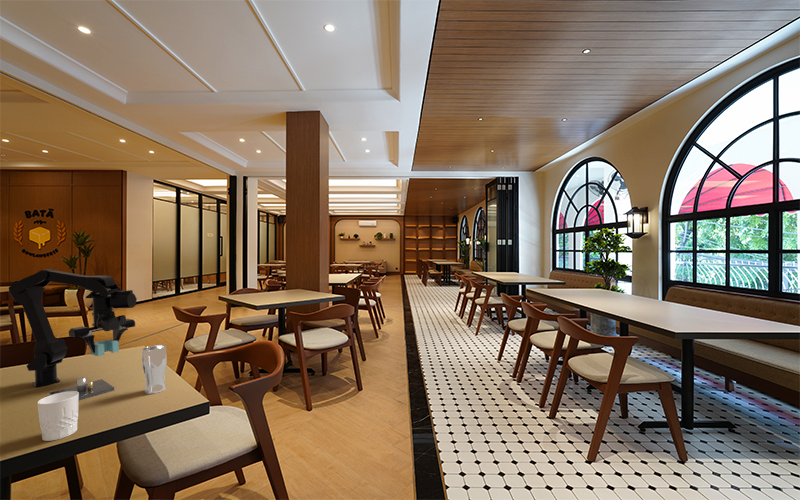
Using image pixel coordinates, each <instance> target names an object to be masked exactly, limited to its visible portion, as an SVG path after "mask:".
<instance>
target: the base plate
mask: <svg viewBox="0 0 800 500" xmlns="http://www.w3.org/2000/svg"><path fill="white" fill-rule="evenodd" d="M68 391H77V392H79V401H82V400H85V399H88V398H89V399H90V398H92V397H94V396H99V395H103V394H106V393H109V392H113V391H115V386H113V385H112V384H110V383H108V382H107V381H106V380H104V379H103V378H102V379H101V378H100V379H97V380H94V381H87V377H86V376H84V377H78V378H77V379H76V385H74V386H70V387H66V388H62V389H58V390H54V391H51V392H48V396H50V395H53V394H57V393H62V392H68Z"/></svg>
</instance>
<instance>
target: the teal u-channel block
mask: <svg viewBox="0 0 800 500" xmlns="http://www.w3.org/2000/svg"><path fill="white" fill-rule="evenodd" d="M94 345H95V353H92V351H91V349H90V348H89V349H90V352H89V353H90V355H92V356H96V357H100V356H105V354H106V353H105V352H110V353H112V354H113V353H119V351H120V349H119V348H120V347H119V346H120V345H119V342H118V341H116V340H113V338H112V339H110V338H109V339H105V340H102V341H101V340H100V341H96V342H95V341H94Z"/></svg>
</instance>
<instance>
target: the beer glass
mask: <svg viewBox="0 0 800 500" xmlns="http://www.w3.org/2000/svg"><path fill="white" fill-rule="evenodd" d="M166 348H167V347H166V344H156V345H149V346H145V347H143V348H142V350H141V351H142V352H141V353H142V354H141V363H142V364H141V365H142V370H143V374H144V379H145V388H144V394H146V395H153V394H154V395H155V394H159V393H161V392H163V391H165V390H166V389H167V384H166V381H165V375H166V369H167V359H168V355H167V349H166Z"/></svg>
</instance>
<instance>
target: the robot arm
mask: <svg viewBox="0 0 800 500" xmlns="http://www.w3.org/2000/svg"><path fill="white" fill-rule="evenodd" d="M51 282H53V283H60V284H63V285H64V284H65V285H71V286H76V287H77V286H78V287H81V288H83V289H85V290H87V291H89V292H90V293H89V294H87V295H86V296H85V299H92V312H91V315H92V317H93V318H92V319H93V322H92V323H91V325H92V326H91V327H88V326H87V327H86V326H77V327H71V328H70V329H69V330H68V337H70V338H81V339H83V340H84V342H86V344H87V346H88V348H89V349H91V351H92V353H95V345H94V343H95V334H93V333H95V332H100V331H104V332H110V331H112V340H116V341H118V342H119V341H120V339H121V337H122V335H123V334H124V332H126V331H128V330H129V328H135V327H136V321H135V319H132V318H126V317H127V316H126V315H125V314H121V315H118V316H116V313H115V311H114V310H113V309H116V310H118V309H133V308H134V307H135V306H136V304H137V296H136V295H135V293H134V291H133V290H132V289H128V290H122V288H121V287H120V286H119V285H118V284H117V283H116V282H115V279H114V277H112V276H111V275H85V274H78V273H73V272H67V271H62V270H61V271H60V270H56V269H53V268H51V269H50V268H49V269H42V270H41V269H40V270H39V271H37V272H35V273H34V274H31V275H29V276H26V277H24V278H22V279H21V280H15V281H13V282H12V283H11V284H10V286H8V292H9V293H10V296H11V297H12V298H13V301H16V302H17V303H19V305H21V307H22V308H23V311H24V314H25V316H26V318H27V322H28V324H29V327H30V329H31V332H32V335H33V337H34V339H35V342H36V343H35V346H34V349H33V354H34V358H33V359H32V360H31V361H30V362H29V363H28V364H26V368H27V370H28V371H29V372H32V371H34V380H35V381H34V382H32V385H33V386H34V387H35V388H38V387H45V386H47V385H52V384H56V383H59V382H61V380H60V379H59V378H58V369H57V364H61V363H62V362H63V361H64V358H65V356H66V355H67V353H68V350H67V349H68V346H67V345H66V340H65V339H64V338H61V339H58V338H57V337H56V336H55V335H54V334H55V333H54V331H53V329H52V327H51V324H50V321H49V319H48V316H47V312H46V310H45V307H44V305H43V302H42V299H43V297H44V288H46V286H48V285H49V284H51Z"/></svg>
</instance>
